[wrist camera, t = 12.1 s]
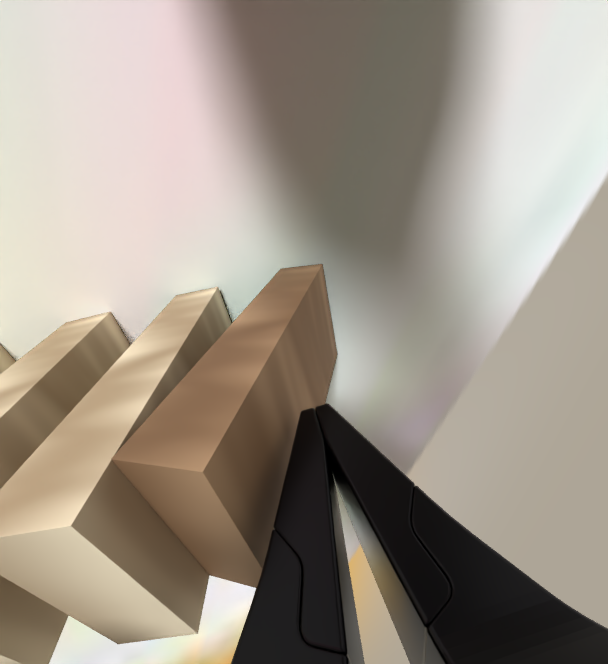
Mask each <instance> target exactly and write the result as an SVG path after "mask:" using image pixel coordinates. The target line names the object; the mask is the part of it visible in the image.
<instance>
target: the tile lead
mask: <svg viewBox="0 0 608 664" xmlns="http://www.w3.org/2000/svg"><path fill="white" fill-rule="evenodd" d="M336 358H337V349H336V343H335V337H334V331H333V325H332V319H331V313H330V307H329V301H328V295H327V289H326V283H325V277H324V271H323V265H322V264H318V265H309V266H300V267H292V268H283V269H280V270H279V272H278V273H277V274H276V275H275V276H274V277H273V278H272V279H271V280H270V282H269V283H268V284H267V285H266V286H265V287H264V288H263V289H262V291H261V292H260V293H259V294H258V295H257V296H256V297H255V298H254V299H253V301H252V302H251V303H250V304H249V305H248V306H247V307H246V308H245V310H244V311H243V312H242V313H241V314H240V315H239V316H238V317H237V319H236V320H235V321H234V322H233V323H232V324H231V325H230V326H229V327H228V329H227V330H226V331H225V332H224V333H223V334H222V335H221V336H220V338H219V339H218V340H217V341H216V342H215V343H214V344H213V345H212V347H211V348H210V349H209V350H208V351H207V352H206V353H205V354H204V355H203V357H202V358H201V359H200V360H199V361H198V362H197V363H196V364H195V366H194V367H193V368H192V369H191V370H190V371H189V372H188V373H187V375H186V376H185V377H184V378H183V379H182V380H181V381H180V382H179V383H178V385H177V386H176V387H175V388H174V389H173V390H172V391H171V392H170V394H169V395H168V396H167V397H166V398H165V399H164V400H163V401H162V403H161V404H160V405H159V406H158V407H157V408H156V409H155V410H154V411H153V413H152V414H151V415H150V416H149V417H148V418H147V419H146V420H145V422H144V423H143V424H142V425H141V426H140V427H139V428H138V429H137V430H136V432H135V433H134V434H133V435H132V436H131V437H130V438H129V439H128V441H127V442H126V443H125V444H124V445H123V446H122V447H121V448H120V450H119V451H118V452H117V453H116V454H115V455H114V456H113V457H112V458H111V460H112V461H113V462H114V464H115V465H116V466H117V467H118V468H119V469H120V471H121V472H122V473H123V474H124V475H125V477H126V478H127V479H128V480H129V481H130V482H131V484H132V485H133V486H134V487H135V488H136V490H137V491H138V492H139V493H140V494H141V495H142V497H143V498H144V499H145V500H146V501H147V502H148V504H149V505H150V506H151V507H152V508H153V510H154V511H155V512H156V513H157V514H158V515H159V517H160V518H161V519H162V520H163V521H164V522H165V524H166V525H167V526H168V527H169V528H170V530H171V531H172V532H173V533H174V534H175V535H176V537H177V538H178V539H179V540H180V541H181V542H182V544H183V545H184V546H185V547H186V548H187V550H188V551H189V552H190V553H191V554H192V555H193V557H194V558H195V559H196V560H197V561H198V563H199V564H200V565H201V566H202V567H203V568H204V570H205V571H206V572H207V573H208V574H209V575H211V576H215V577H218V578H222V579H226V580H229V581H233V582H237V583H240V584H244V585H248V586H251V587H255V588H257V585H258V582H259V579H260V576H261V572H262V568H263V564H264V561H265V557H266V553H267V550H268V545H269V541H270V537H271V533H272V530H274V528H273V525H274V521H275V517H276V513H277V509H278V504H279V500H280V496H281V492H282V488H283V483H284V479H285V475H286V471H287V467H288V463H289V458H290V454H291V450H292V446H293V442H294V437H295V433H296V429H297V425H298V421H299V416H300V413H301V411H302V410H306V409H309V408H314V409H315V407H316V406H320V405H323V404H325V402H326V398H327V394H328V390H329V386H330V382H331V378H332V374H333V370H334V366H335V362H336Z"/></svg>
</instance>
